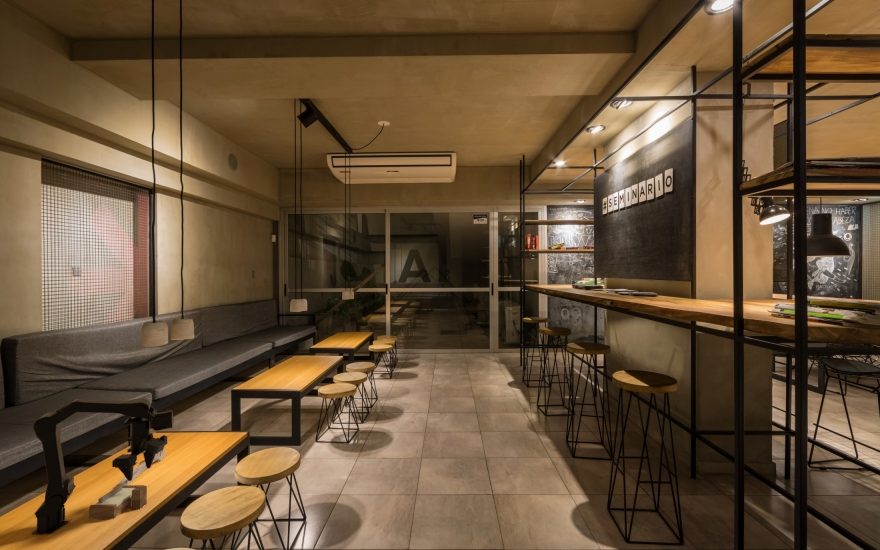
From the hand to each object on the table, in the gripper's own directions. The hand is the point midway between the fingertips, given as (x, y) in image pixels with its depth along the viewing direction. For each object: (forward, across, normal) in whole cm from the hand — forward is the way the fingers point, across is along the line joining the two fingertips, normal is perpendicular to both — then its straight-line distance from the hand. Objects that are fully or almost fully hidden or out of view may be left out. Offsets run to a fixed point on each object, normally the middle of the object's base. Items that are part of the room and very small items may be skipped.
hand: (139, 474), depth 142 cm
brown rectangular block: (+12, 0, 0) cm, 12 cm away
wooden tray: (+12, 0, +8) cm, 14 cm away
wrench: (+12, +28, +18) cm, 36 cm away
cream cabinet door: (+9, 0, +8) cm, 12 cm away
